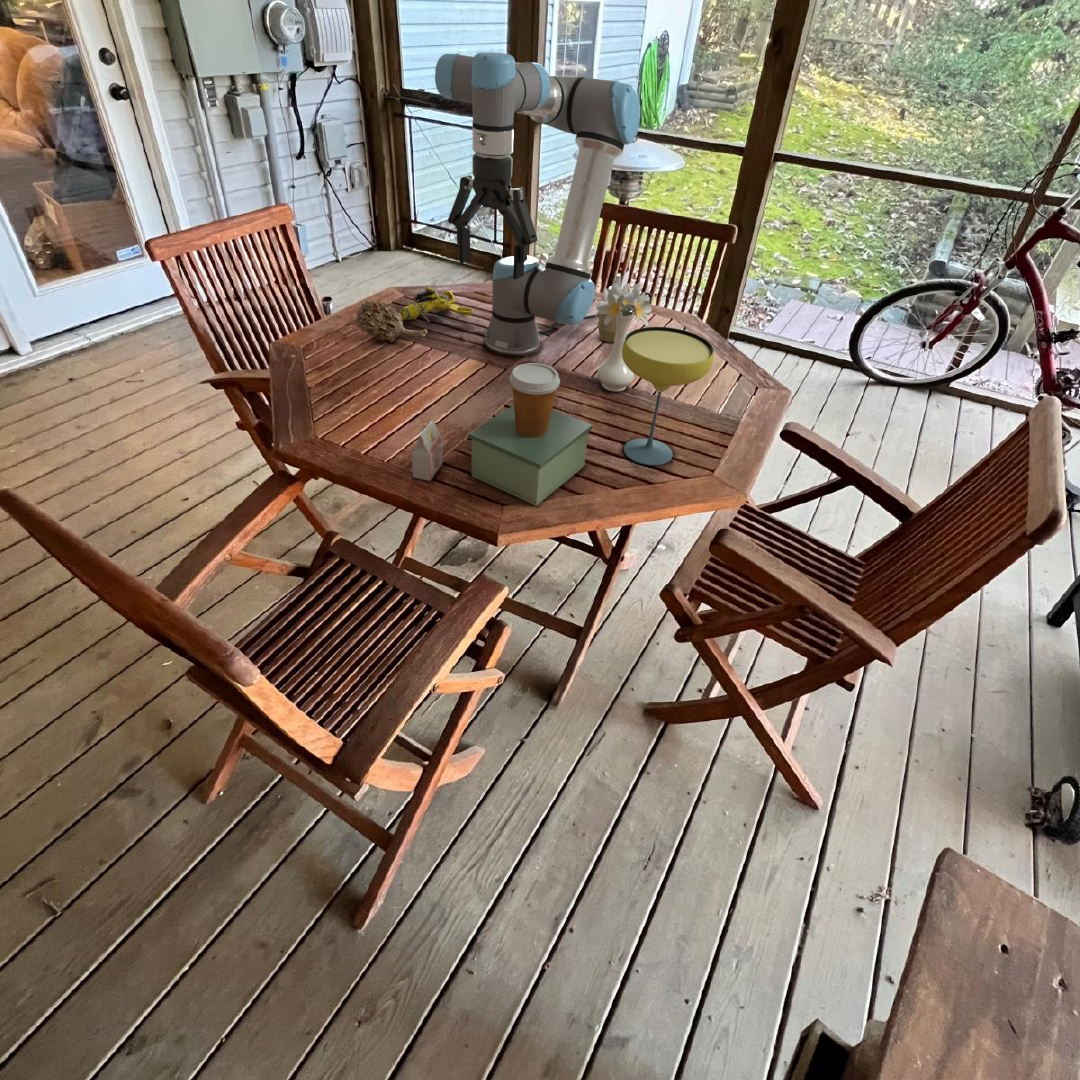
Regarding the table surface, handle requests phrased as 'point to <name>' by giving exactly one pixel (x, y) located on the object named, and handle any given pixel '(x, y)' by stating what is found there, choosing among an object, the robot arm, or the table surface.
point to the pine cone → (382, 321)
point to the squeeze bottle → (609, 330)
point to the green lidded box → (528, 455)
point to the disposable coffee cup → (533, 397)
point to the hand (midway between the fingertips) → (491, 269)
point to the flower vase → (620, 331)
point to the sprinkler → (432, 304)
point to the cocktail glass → (663, 375)
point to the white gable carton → (427, 453)
